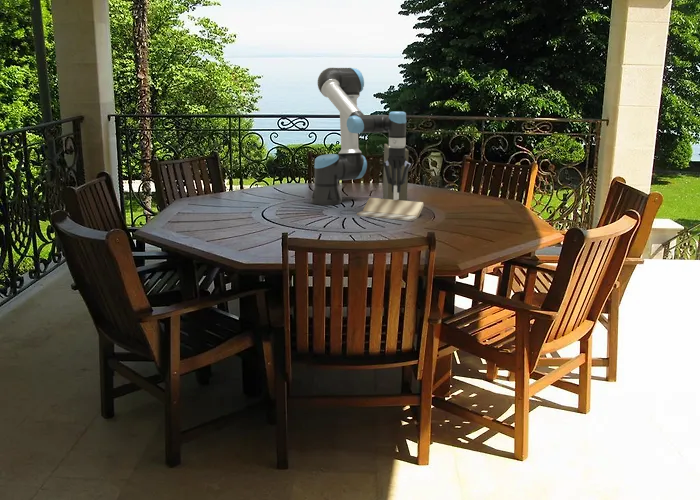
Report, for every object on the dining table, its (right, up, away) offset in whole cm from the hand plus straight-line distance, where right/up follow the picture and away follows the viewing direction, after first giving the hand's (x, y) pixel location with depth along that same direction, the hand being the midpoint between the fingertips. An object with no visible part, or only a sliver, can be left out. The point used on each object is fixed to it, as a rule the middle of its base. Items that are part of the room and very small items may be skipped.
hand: (396, 199), depth 300 cm
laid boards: (-5, -9, -8) cm, 13 cm away
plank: (-1, -5, -1) cm, 5 cm away
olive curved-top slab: (+1, +1, +31) cm, 31 cm away
